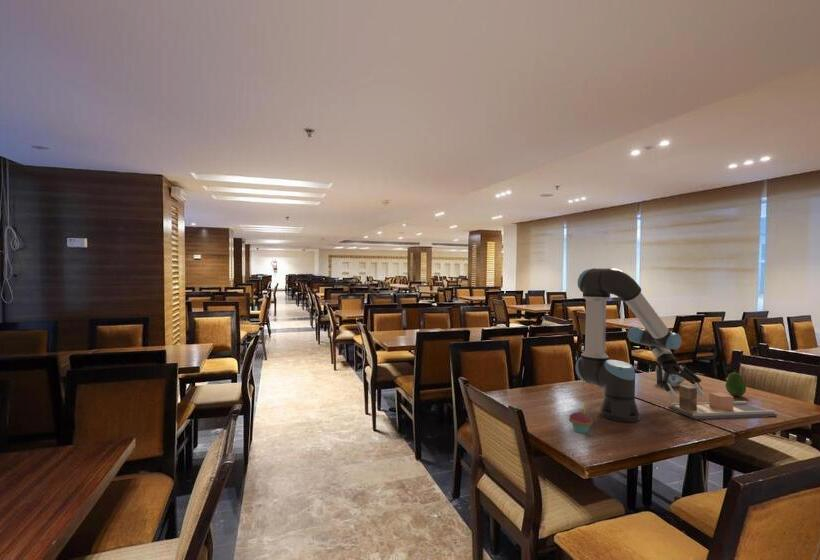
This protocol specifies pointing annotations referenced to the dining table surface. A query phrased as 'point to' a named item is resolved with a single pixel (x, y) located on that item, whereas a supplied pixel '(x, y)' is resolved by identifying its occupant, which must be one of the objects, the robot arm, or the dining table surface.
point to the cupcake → (581, 421)
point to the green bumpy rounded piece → (735, 384)
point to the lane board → (748, 412)
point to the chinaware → (673, 379)
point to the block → (721, 401)
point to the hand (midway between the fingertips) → (688, 397)
